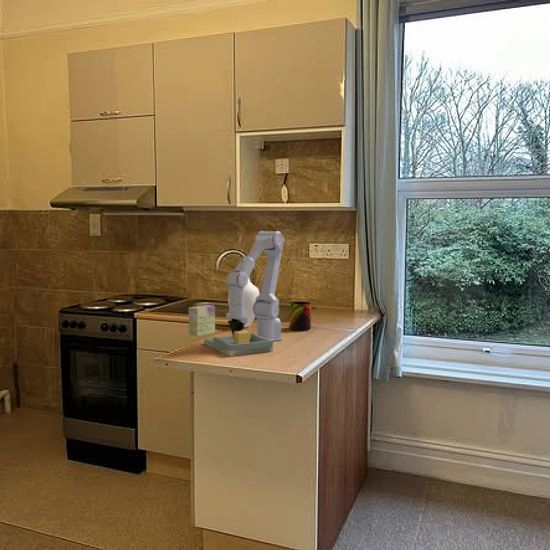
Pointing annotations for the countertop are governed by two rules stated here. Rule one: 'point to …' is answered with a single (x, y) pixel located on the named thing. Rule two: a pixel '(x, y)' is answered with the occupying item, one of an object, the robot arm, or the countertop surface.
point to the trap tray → (240, 345)
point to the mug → (300, 316)
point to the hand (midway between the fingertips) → (236, 339)
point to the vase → (249, 301)
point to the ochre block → (241, 337)
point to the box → (201, 320)
